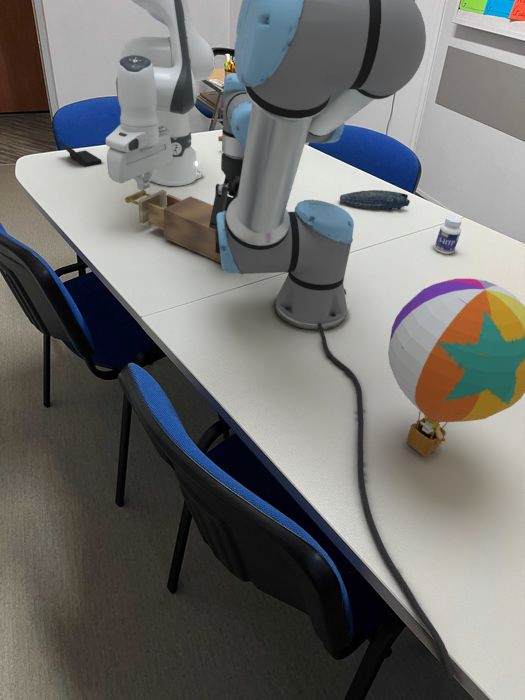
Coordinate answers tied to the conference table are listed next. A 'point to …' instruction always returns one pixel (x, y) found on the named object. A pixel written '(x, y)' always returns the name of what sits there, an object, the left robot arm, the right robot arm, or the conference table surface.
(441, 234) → the pill bottle
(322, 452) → the conference table surface
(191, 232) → the cabinet
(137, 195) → the drawer
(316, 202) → the right robot arm
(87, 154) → the black handled piece
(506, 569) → the conference table surface
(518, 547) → the conference table surface
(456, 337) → the toy
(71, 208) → the conference table surface
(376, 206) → the fish model
